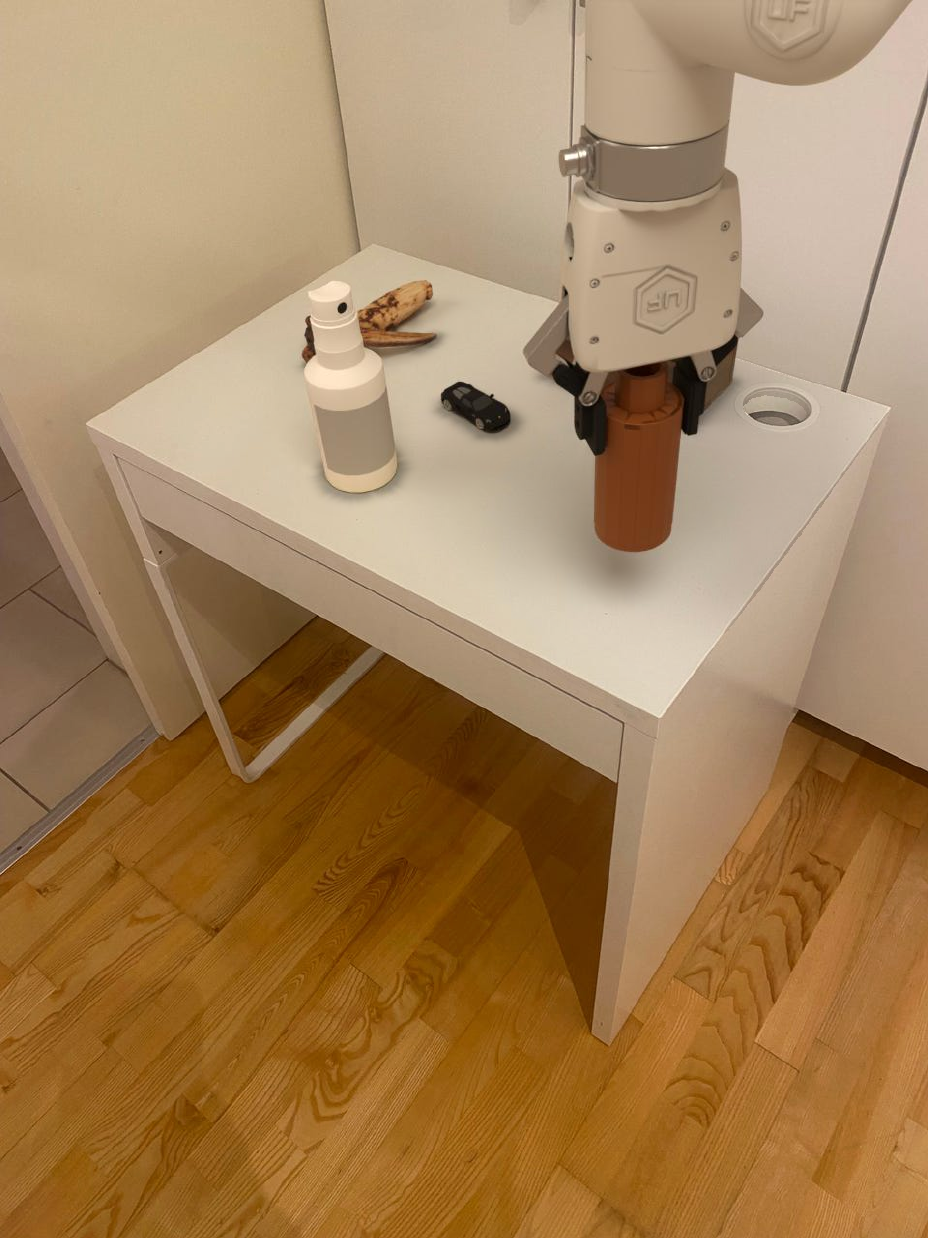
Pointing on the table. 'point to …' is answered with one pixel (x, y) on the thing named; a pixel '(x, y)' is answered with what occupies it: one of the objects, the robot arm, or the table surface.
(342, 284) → the spray bottle
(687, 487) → the table surface
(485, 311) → the table surface
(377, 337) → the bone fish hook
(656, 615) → the table surface
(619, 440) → the bottle
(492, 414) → the toy car
